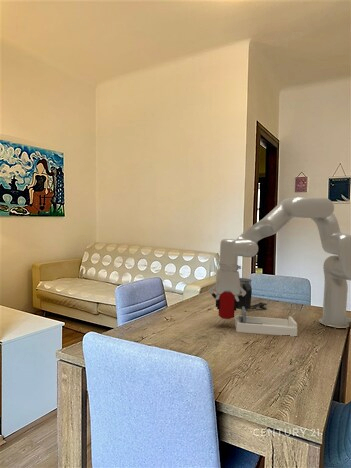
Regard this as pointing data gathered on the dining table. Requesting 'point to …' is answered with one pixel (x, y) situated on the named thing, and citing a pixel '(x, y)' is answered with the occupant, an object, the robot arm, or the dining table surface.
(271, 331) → the white tray
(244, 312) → the pusher
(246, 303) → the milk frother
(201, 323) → the dining table surface
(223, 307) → the beverage can
